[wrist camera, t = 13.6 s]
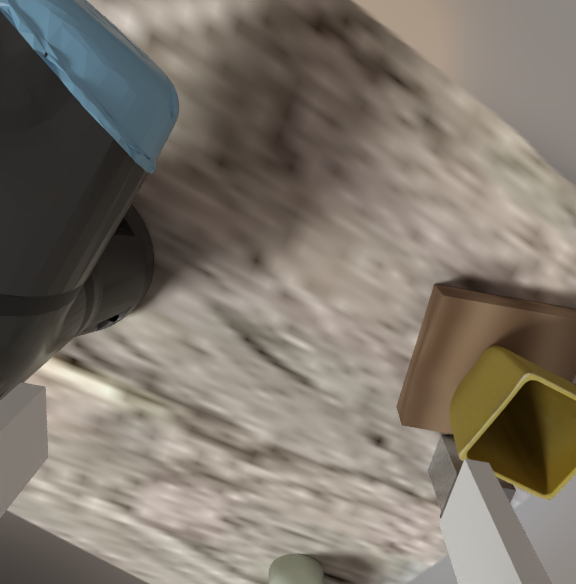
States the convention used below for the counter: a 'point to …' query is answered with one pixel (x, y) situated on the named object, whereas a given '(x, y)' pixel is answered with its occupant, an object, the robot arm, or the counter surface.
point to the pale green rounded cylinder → (295, 570)
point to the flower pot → (517, 422)
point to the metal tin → (451, 471)
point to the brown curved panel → (479, 347)
